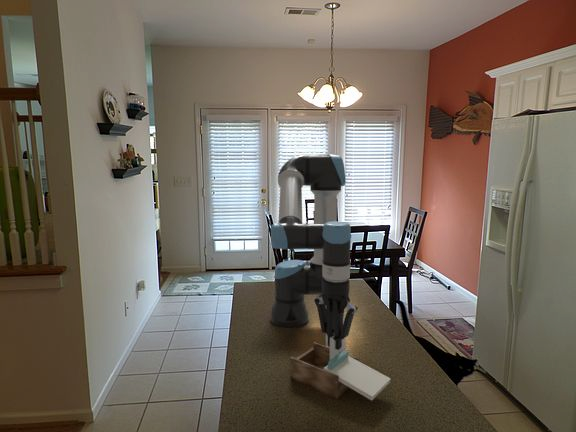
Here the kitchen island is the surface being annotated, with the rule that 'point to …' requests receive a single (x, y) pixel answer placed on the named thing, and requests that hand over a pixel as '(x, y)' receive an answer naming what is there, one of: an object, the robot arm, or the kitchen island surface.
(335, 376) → the box
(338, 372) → the lid
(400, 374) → the kitchen island surface
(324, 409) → the kitchen island surface
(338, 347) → the robot arm
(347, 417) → the kitchen island surface
